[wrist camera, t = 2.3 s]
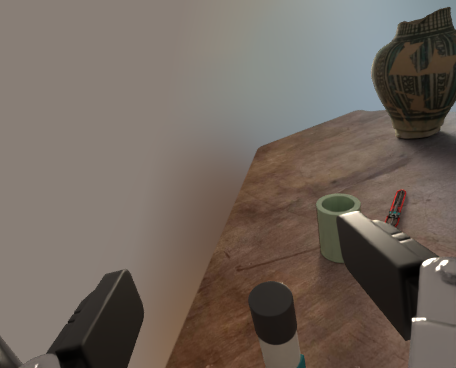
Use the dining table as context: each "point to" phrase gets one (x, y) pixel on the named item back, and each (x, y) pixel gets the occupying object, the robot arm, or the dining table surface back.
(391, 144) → the dining table surface
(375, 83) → the vase
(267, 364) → the marker
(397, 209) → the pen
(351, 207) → the holder
